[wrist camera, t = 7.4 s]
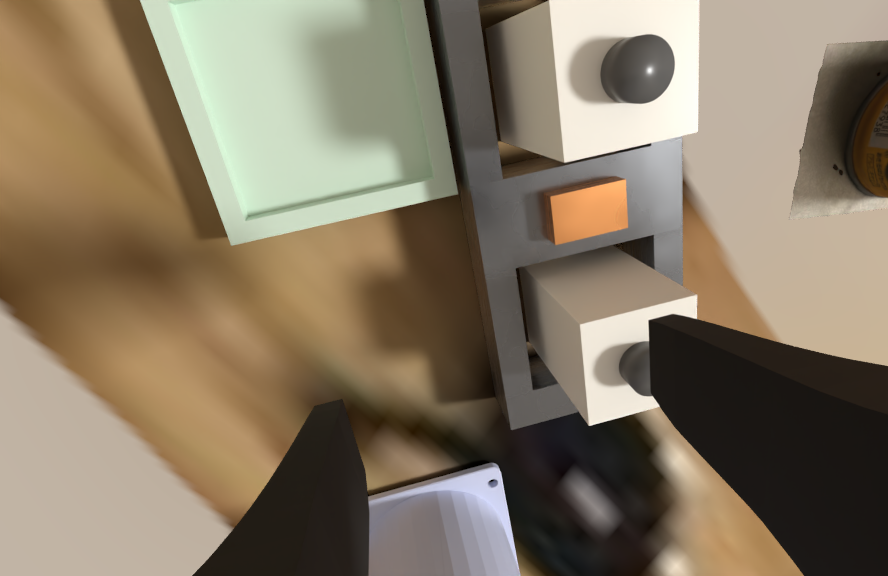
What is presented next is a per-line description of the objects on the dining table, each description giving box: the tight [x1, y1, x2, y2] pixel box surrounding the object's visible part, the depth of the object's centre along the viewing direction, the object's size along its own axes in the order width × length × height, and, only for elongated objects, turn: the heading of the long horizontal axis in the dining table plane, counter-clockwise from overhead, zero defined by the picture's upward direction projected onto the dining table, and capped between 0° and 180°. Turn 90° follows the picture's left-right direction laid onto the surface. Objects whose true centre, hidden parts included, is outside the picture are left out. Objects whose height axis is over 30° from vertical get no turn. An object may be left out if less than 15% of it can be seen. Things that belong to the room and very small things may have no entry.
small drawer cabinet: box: [425, 0, 683, 430], centre depth 20 cm, size 18×8×3 cm, turn 11°
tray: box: [140, 0, 458, 246], centre depth 18 cm, size 8×8×1 cm
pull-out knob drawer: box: [519, 245, 697, 426], centre depth 19 cm, size 4×4×7 cm
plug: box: [485, 0, 699, 163], centre depth 16 cm, size 4×4×7 cm
